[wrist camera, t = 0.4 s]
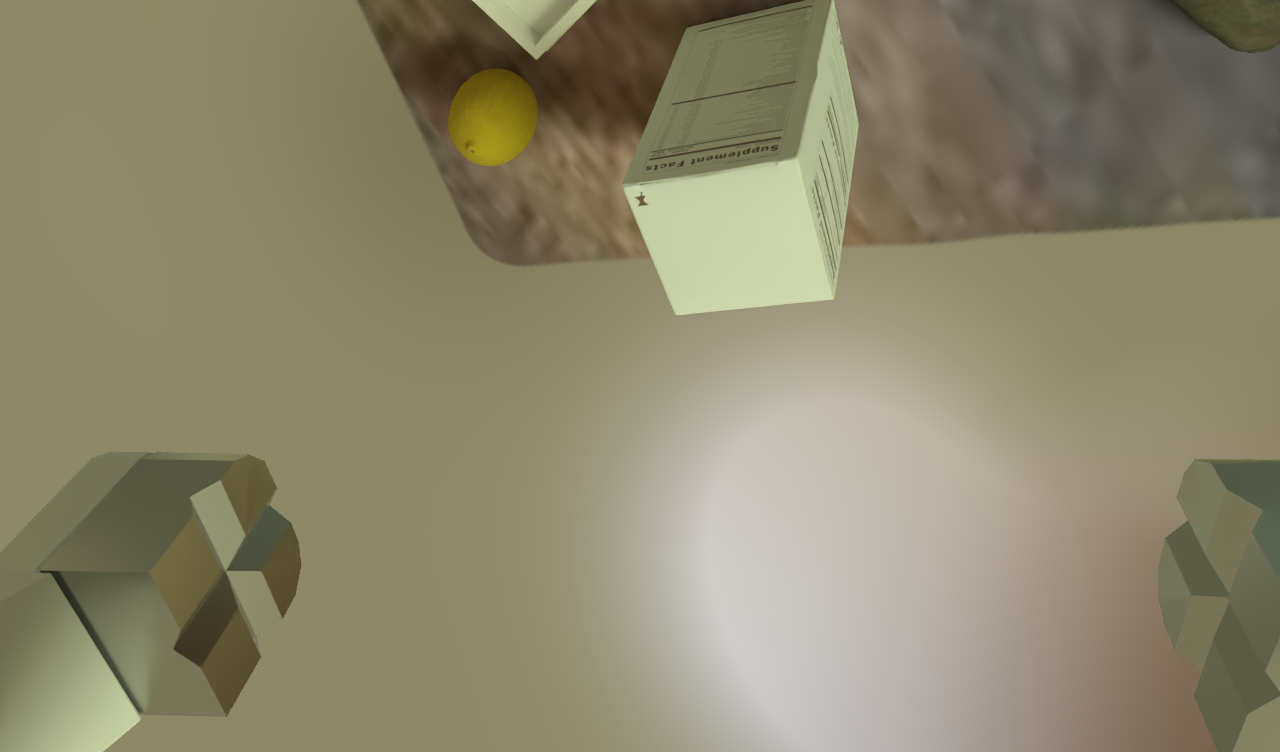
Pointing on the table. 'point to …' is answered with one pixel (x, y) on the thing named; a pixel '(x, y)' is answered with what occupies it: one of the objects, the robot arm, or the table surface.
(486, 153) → the lemon
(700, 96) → the supplement box
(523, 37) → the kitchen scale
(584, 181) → the table surface
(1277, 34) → the decorative stone
